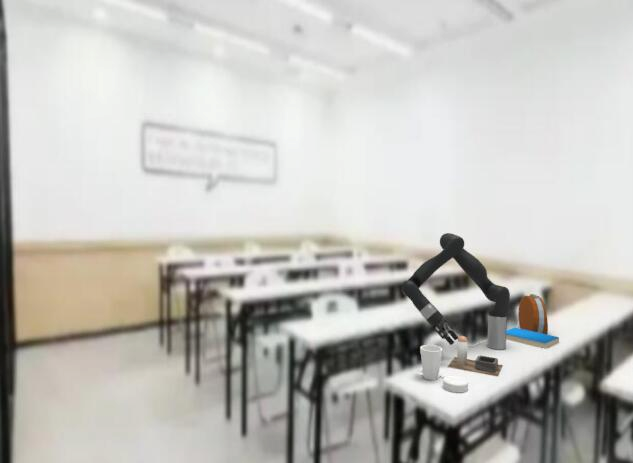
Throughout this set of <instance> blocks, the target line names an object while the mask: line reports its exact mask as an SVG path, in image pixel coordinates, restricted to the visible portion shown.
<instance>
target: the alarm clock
mask: <svg viewBox="0 0 633 463" xmlns="http://www.w3.org/2000/svg"><path fill="white" fill-rule="evenodd" d="M517 315H518V323H519V328H520V329H524V330H529V331H533V332H538V333H542V334H547V335H548V334H549V333H548V331H549V326H548V324H549V323H548V322H549V321H548V314H547V309H546V305H545V303H544V300H543V299H542V298H541V296H538V295H537V294H534V293H533V294H531V293H530V294H529V295H523V296H522V297H521V299H520V301H519V305H518V314H517Z"/></svg>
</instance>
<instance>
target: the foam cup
mask: <svg viewBox="0 0 633 463" xmlns="http://www.w3.org/2000/svg"><path fill="white" fill-rule="evenodd" d="M419 348H420V349H419V350H420V351H419V352H420V355H421V357H420V358H421V365H422V366H421V367H422V375H423V379H426V380H429V381H435V380H439V374H440V370H441V364H442V363H441V361H442V357H443V348H442V347H441V346H439V345H434V344H425V345H424V344H423V345H421V346H420V347H419Z"/></svg>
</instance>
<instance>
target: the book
mask: <svg viewBox="0 0 633 463" xmlns="http://www.w3.org/2000/svg"><path fill="white" fill-rule="evenodd" d="M506 341H512V342H515V343H519V344H524V345H527V346H528V345H529V346H532V347H536V348H539V347H540V349H543V348H544V350H547V349H548V348H551V347H553V346H555V344H556V345H558V344H559V343H560V338H559V336H555V335H550V334H548V333H547V334H542V333H538V332H533V331H529V330H524V329H521V328H520V327H512V328H509V329H506ZM557 343H558V344H557ZM546 348H547V349H546Z"/></svg>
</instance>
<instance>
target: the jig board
mask: <svg viewBox="0 0 633 463" xmlns="http://www.w3.org/2000/svg"><path fill="white" fill-rule="evenodd" d="M503 366H504V365H503V364H499V358H497V357H492V356H485V355H481V354H479V355H477V357H476V359H475V360H474V359H470V358H469V359H468V358H467V365H458V364H457V356H454V357H453V359H451V361H450V362H449V364H448V365H447V368H450V369H455V370H460V371H467V372H470V373H471V372H473V373H475V374H476V373H477V374H483V375H486V376H487V375H488V376H492V377H499V376H500V373H501V371H502V368H503Z"/></svg>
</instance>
